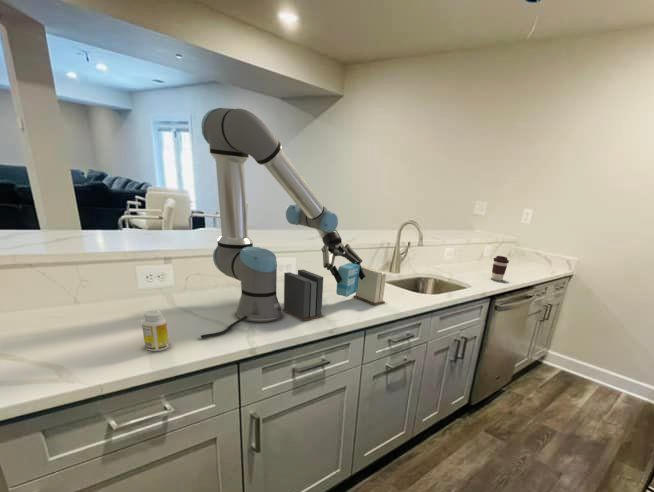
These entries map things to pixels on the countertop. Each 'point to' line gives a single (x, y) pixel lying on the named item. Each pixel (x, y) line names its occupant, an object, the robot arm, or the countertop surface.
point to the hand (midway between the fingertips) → (351, 279)
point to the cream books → (371, 287)
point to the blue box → (348, 279)
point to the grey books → (303, 294)
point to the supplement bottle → (155, 331)
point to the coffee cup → (499, 267)
